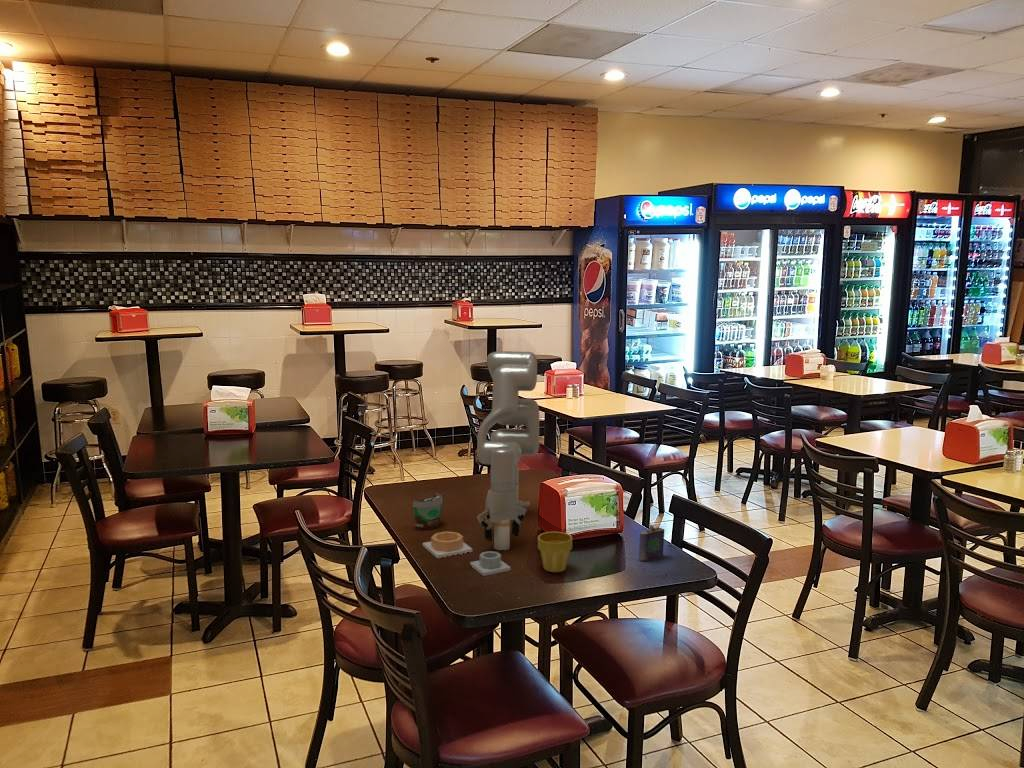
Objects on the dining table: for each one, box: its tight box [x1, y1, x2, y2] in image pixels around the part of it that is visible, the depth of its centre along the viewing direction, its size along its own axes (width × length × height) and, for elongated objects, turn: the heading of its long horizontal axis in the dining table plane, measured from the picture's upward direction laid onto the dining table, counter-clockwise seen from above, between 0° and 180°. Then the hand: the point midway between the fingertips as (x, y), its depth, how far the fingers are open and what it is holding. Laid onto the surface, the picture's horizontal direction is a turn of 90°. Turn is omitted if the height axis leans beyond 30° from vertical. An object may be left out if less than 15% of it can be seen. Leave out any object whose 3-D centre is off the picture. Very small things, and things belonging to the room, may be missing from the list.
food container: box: [412, 492, 444, 530], centre depth 259 cm, size 12×6×10 cm, turn 143°
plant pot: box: [537, 531, 573, 573], centre depth 224 cm, size 10×10×10 cm
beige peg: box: [493, 519, 512, 551], centre depth 240 cm, size 5×5×10 cm
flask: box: [638, 523, 665, 562], centre depth 233 cm, size 9×3×11 cm, turn 121°
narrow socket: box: [469, 550, 512, 577], centre depth 224 cm, size 9×9×4 cm
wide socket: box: [422, 530, 473, 559], centre depth 239 cm, size 12×12×4 cm
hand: (502, 537), depth 240 cm, fingers open, 9 cm apart
